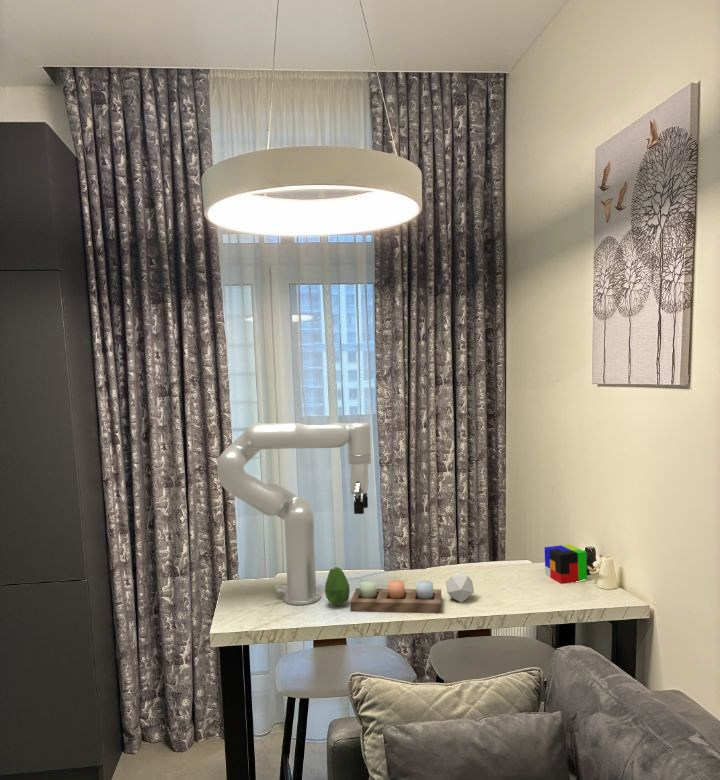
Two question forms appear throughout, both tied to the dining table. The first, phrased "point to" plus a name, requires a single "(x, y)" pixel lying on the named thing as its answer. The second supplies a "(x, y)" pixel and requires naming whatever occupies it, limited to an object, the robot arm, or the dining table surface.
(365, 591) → the button sage
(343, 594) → the avocado
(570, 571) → the puzzle toy
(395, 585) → the button terracotta
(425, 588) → the button blue
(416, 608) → the board
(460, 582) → the die
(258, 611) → the dining table surface
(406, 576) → the dining table surface
